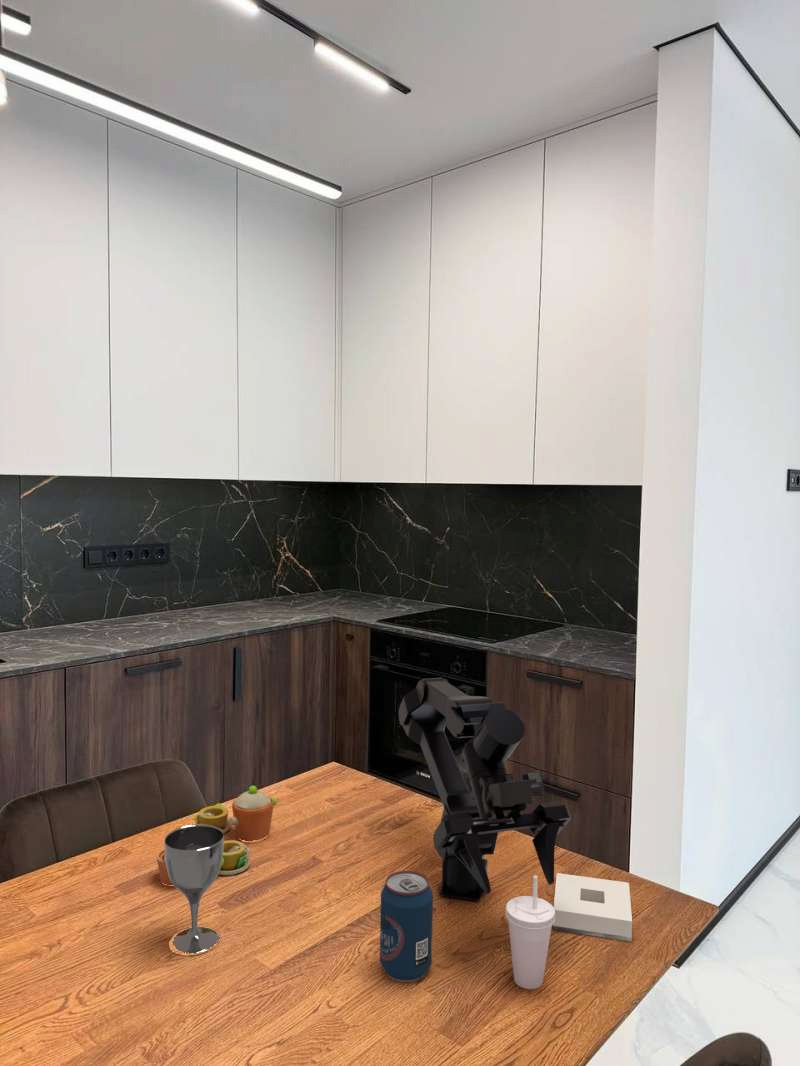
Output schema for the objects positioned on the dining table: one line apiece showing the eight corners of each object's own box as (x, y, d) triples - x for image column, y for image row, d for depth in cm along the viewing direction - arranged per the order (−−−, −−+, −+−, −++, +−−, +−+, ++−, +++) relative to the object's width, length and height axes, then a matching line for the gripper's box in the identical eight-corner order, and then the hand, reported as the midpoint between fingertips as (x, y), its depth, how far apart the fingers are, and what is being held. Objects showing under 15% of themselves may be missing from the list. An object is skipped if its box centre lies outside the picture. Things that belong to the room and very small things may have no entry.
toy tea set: (202, 819, 147) (202, 770, 147) (281, 825, 145) (281, 775, 145) (140, 890, 121) (140, 831, 121) (235, 898, 119) (236, 837, 119)
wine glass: (234, 931, 110) (234, 829, 109) (202, 963, 103) (202, 854, 102) (186, 920, 113) (186, 820, 112) (152, 950, 105) (152, 844, 104)
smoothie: (553, 999, 97) (556, 891, 96) (501, 992, 98) (504, 885, 97) (553, 968, 103) (556, 867, 102) (505, 961, 104) (507, 861, 103)
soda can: (369, 964, 103) (370, 877, 102) (410, 946, 107) (412, 863, 106) (400, 992, 98) (401, 901, 97) (442, 972, 102) (444, 884, 101)
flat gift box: (552, 929, 112) (553, 909, 112) (556, 891, 123) (556, 872, 122) (631, 941, 109) (632, 921, 109) (628, 901, 120) (628, 882, 120)
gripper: (443, 757, 104) (472, 877, 94) (566, 746, 109) (606, 858, 99) (423, 792, 112) (448, 905, 102) (539, 780, 117) (574, 886, 107)
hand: (520, 888), depth 102 cm, fingers open, 9 cm apart
